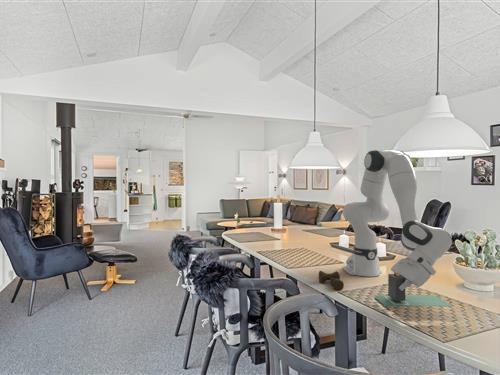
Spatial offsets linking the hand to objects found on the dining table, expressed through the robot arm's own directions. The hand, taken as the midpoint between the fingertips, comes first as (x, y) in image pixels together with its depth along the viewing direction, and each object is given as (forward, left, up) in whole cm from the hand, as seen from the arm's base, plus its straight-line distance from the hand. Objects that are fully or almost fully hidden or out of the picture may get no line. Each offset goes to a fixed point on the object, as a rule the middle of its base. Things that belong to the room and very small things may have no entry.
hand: (395, 286), depth 138 cm
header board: (+1, +7, -7) cm, 10 cm away
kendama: (-31, -13, -8) cm, 34 cm away
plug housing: (0, +1, -5) cm, 5 cm away
